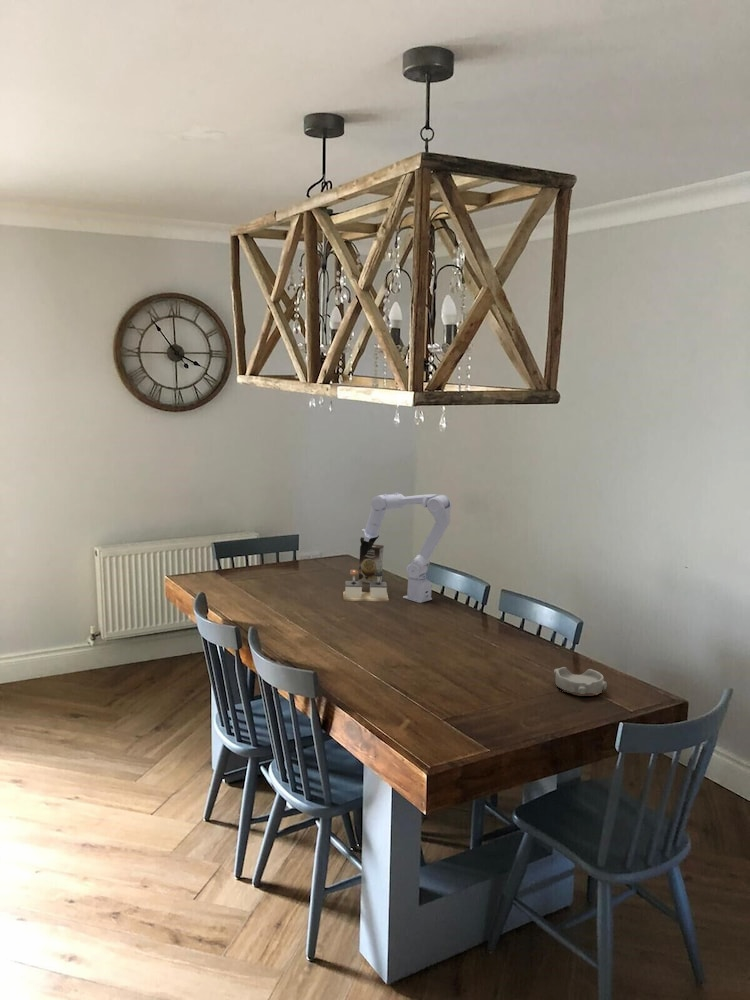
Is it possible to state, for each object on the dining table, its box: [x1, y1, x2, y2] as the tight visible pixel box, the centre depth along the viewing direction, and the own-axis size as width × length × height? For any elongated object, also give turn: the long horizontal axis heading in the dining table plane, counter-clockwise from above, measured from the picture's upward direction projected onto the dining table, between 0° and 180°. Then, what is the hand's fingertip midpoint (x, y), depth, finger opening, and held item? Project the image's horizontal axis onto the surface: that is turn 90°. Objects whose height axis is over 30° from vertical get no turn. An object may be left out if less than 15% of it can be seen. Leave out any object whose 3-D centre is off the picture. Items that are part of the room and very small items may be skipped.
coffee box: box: [358, 543, 385, 584], centre depth 351 cm, size 9×6×16 cm
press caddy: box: [344, 580, 388, 598], centre depth 328 cm, size 17×7×5 cm, turn 93°
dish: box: [553, 666, 608, 694], centre depth 241 cm, size 14×14×5 cm
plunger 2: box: [375, 569, 384, 584], centre depth 327 cm, size 3×3×6 cm
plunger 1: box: [349, 569, 359, 584], centre depth 326 cm, size 3×3×6 cm
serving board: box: [342, 591, 390, 602], centre depth 328 cm, size 18×10×1 cm, turn 93°
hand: (365, 552), depth 336 cm, fingers open, 7 cm apart
